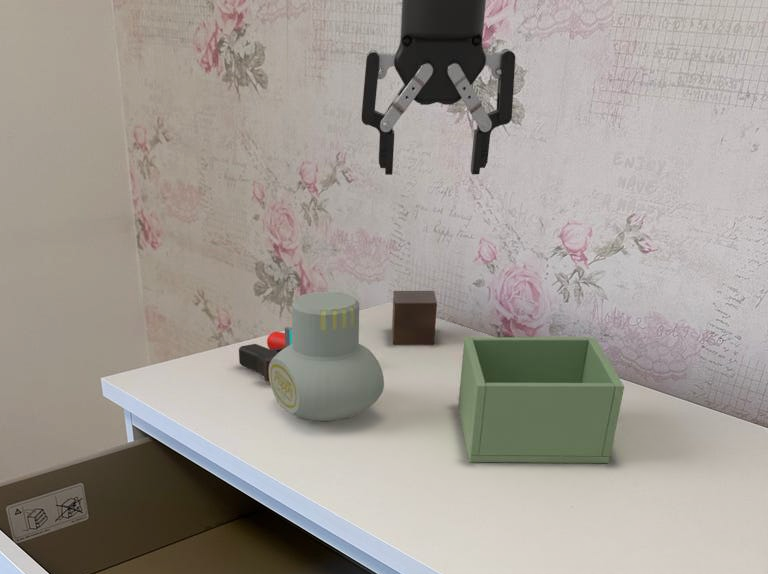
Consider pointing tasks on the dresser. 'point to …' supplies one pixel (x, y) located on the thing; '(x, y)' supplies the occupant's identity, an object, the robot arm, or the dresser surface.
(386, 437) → the dresser surface
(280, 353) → the air freshener
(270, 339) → the toy gun
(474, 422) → the green open box
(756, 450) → the dresser surface
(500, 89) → the robot arm
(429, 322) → the walnut block
